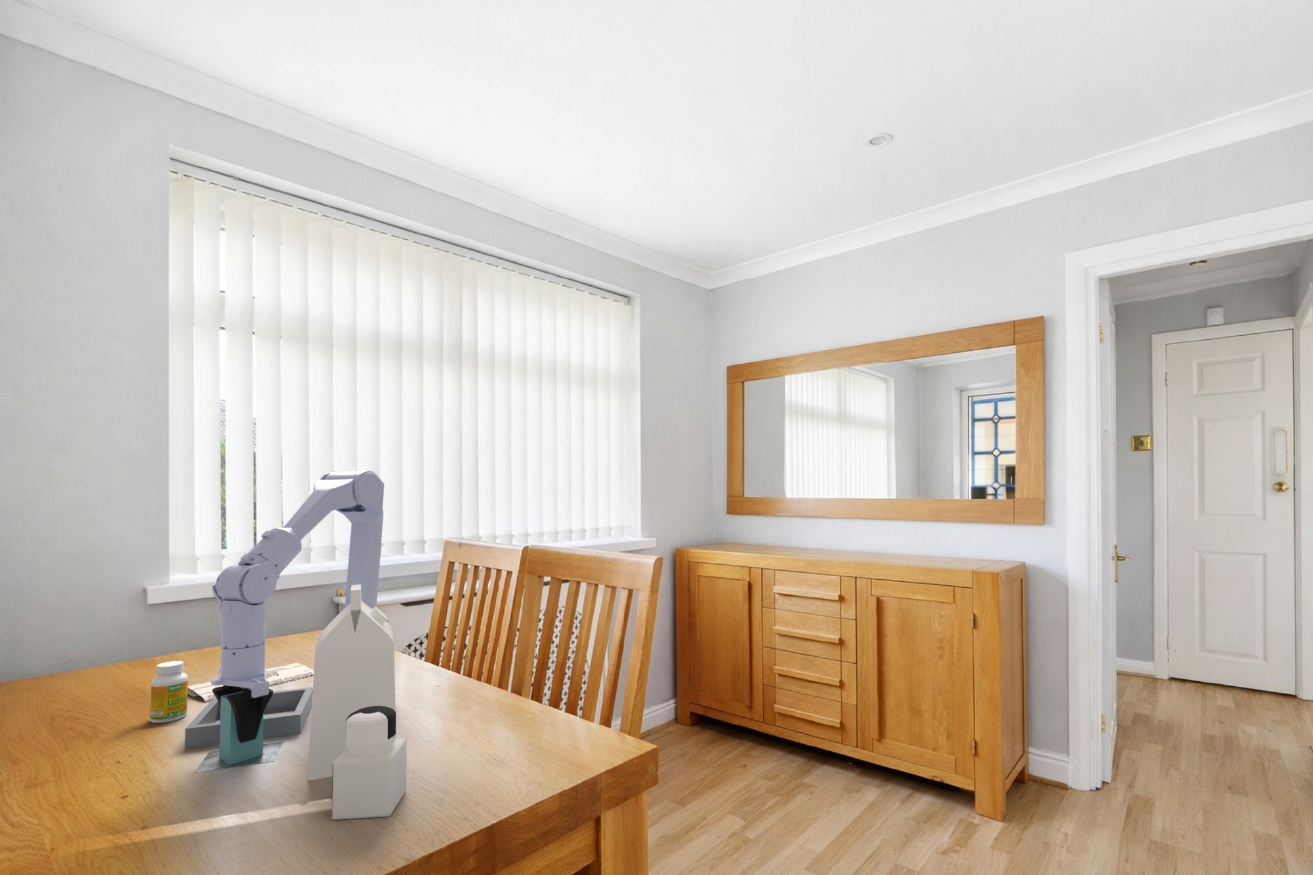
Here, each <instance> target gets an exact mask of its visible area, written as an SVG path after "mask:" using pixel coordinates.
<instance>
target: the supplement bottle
mask: <svg viewBox="0 0 1313 875" xmlns="http://www.w3.org/2000/svg"><path fill="white" fill-rule="evenodd" d="M184 664H185V663H184V661H182V660H172V661H165V662H162V663H158V664H157V665H156V669H155V670H156V671H155V672H156V674H157V676H156V677H154V678H153V679H152V680H151V684H150V712H149V713H150V714H149V721H150V722H151V723H152V724H165V723H172V722H175V721H179V720H181V719H183V718H185V717H186V716H187V714H188V695H189V694H188V686H189V685H188V684H189V676H188V675H187V673H184V672H183V670H184V666H185V665H184Z"/></svg>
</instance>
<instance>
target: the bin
mask: <svg viewBox="0 0 1313 875" xmlns="http://www.w3.org/2000/svg"><path fill="white" fill-rule="evenodd" d="M312 694H313V686H311V687H310V686H309V687H302V688H292V689H284V690H275V691H274V690H273V696H272V697H271V699H270V700H269V702H268V704H267V706H266V708H265V710H264V715H268V716H264V718H263V739H269V738H277V737H284V736H293V735H299V734H301V733H302V731H303V730H304V729H303V728H304V727H305V724H306V722H307V720H308V717H309V715H310V714H311V711H312ZM287 712H293V713H287ZM220 713H221V708H220V705H219V703H218V700H217V698H213V699H212V700H211V701H209V702H208V704H206V706H205V707H203V709H202V710H201V711H200V712H199V714H197V715H196V716H195V718H194V719H192V721H191V722H190V723H189V724H188V725H187V726H186V728H184V729H185V731H184V733H185V734H184V736H185V737H184V750H186V749H187V750H189V749H194V748H202V747H208V746H217V745H220ZM278 713H282V714H278ZM284 713H285V714H284ZM271 714H274V715H271ZM275 714H276V715H275ZM217 721H219V722H217Z"/></svg>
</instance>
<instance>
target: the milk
mask: <svg viewBox="0 0 1313 875" xmlns="http://www.w3.org/2000/svg"><path fill="white" fill-rule="evenodd" d="M344 608H345V607H344ZM344 608H343V610H341V611H342V612H341V611H340V612H341V613H340V612H339V613H340V614H339V613H338V614H339V615H338V614H337V615H338V616H337V615H336V616H337V617H336V616H335V617H336V618H335V617H334V618H335V619H334V618H333V619H334V620H333V619H332V621H330V622H329V624H328V625H327V626H325V628H324V629H322V631H321V632H320V633H319V636H318V638H317V641H316V644H315V650H314V651H315V652H314V660H313V661H314V662H313V670H314V676H312V677H313V681H312V687H313V694H312V709H311V710H310V716H311V717H310V731H309V746H308V762H307V763H308V766H307V782H308V781H315V780H321V779H325V778H326V779H327V778H331V777H332V773H333V762H334V761H335V760H336V759H337V758H338V757H339V755H340V754H341V753H342V752H343V751H344V750H345V749H346V719H347V717H348V716H349V715H350V714H351V713H353V712H355V711H357V710H359V709H362V708H366V707H371V706H386V707H389V708H392V709H394V710H395V712H396V713H397V711H396V709H397V708H396V677H395V676H396V675H395V669H396V668H395V640H394V639H395V638H394V632H393V627H392V626H391V625H390V624H389V622H388V623H387V622H386V620H387V619H388V620H389V618H388V616H386V614H385V613H384V612H382V610H381V609H379V608H378V607H374V608H373V609H371V608H370V607H368V606H367V605H366V604H365V603H364V602H362V597H361V584H359V585H351V603H350V604H349V605H348V606H347V607H346V608H345V609H344Z"/></svg>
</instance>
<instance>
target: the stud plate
mask: <svg viewBox="0 0 1313 875" xmlns="http://www.w3.org/2000/svg"><path fill="white" fill-rule="evenodd" d="M283 744H284V741H279V742H272V743H271V742H270V743H263V755H262V756H258V757H255V758H251V759H248V760H245V761H241V762H238V763H235V764H231V765H229V764H228V763H226V762H225V761H224V760H222V759H221V758H220V757H219V753H220V749H219V750H214V751H209V752H208V753H207V755H206V756H205V757H204V758H203V760H202V761H201V762H200V764H199V765H198V767H197V768H196V769H195V771H194V772H193V773H194V774H199V773H203V772H204V773H205V772H211V771H216V770H224V769H232V768H240V767H245V766H252V765H258V764H259V765H260V764H266V763H267V764H268V763H273V762H275V761H276V758H277V756H278V755H279V752H280V750H281V749H282V746H283Z"/></svg>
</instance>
